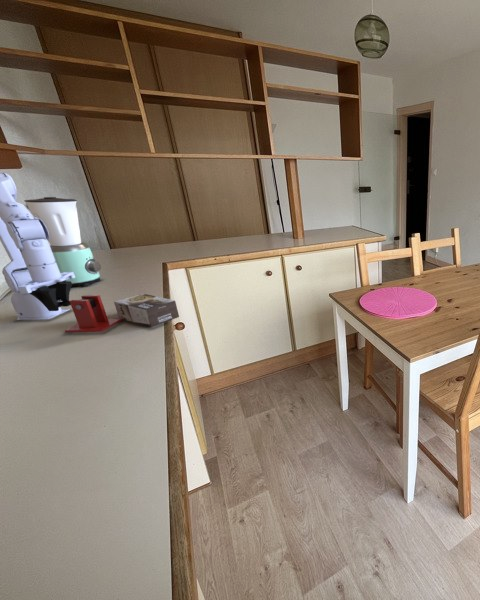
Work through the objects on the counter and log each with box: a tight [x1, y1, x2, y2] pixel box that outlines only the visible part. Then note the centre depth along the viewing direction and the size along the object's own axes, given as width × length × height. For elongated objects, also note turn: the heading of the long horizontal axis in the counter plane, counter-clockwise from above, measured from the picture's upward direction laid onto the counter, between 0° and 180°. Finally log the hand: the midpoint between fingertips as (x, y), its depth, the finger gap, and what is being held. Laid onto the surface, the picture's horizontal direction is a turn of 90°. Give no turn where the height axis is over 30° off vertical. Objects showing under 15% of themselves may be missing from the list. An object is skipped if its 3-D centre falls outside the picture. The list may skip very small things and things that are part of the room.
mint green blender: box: [23, 196, 102, 288], centre depth 126 cm, size 19×13×35 cm
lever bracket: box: [64, 294, 123, 334], centre depth 94 cm, size 10×8×10 cm
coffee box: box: [113, 293, 180, 328], centre depth 101 cm, size 9×6×16 cm
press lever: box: [56, 298, 96, 308], centre depth 92 cm, size 11×3×3 cm, turn 96°
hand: (59, 308), depth 92 cm, fingers closed on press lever, 3 cm apart
